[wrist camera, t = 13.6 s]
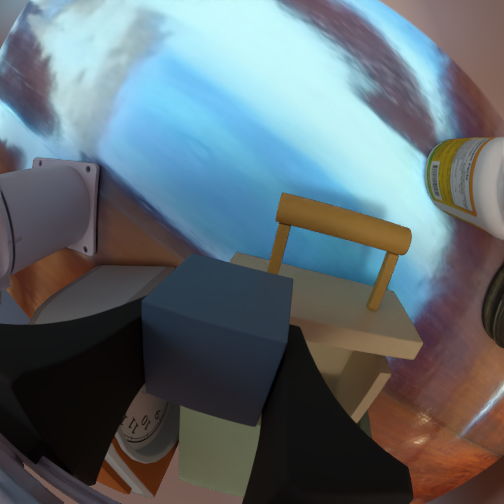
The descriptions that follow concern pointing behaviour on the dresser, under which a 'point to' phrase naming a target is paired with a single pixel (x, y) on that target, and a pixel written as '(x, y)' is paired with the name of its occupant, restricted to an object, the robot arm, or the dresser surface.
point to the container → (495, 309)
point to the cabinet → (221, 451)
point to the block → (216, 337)
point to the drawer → (345, 302)
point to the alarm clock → (144, 405)
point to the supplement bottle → (469, 181)
